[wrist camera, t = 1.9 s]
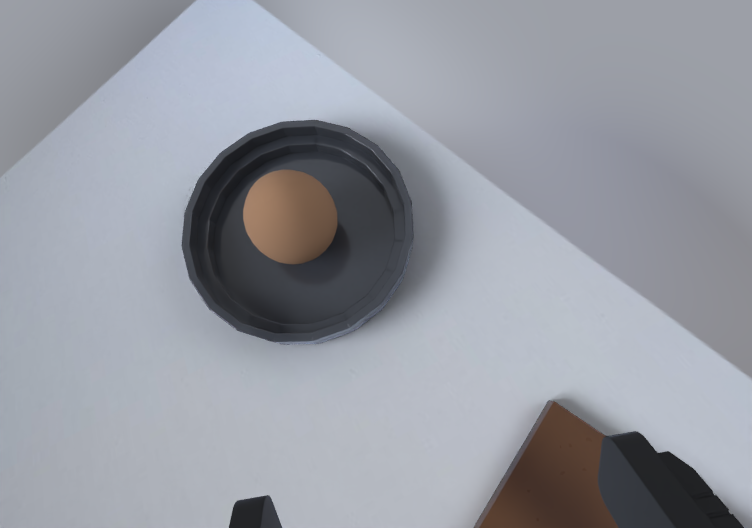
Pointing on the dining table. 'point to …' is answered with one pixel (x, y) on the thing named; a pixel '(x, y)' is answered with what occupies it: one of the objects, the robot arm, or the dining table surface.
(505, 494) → the board
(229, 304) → the pan
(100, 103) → the dining table surface
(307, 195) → the egg
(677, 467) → the robot arm
